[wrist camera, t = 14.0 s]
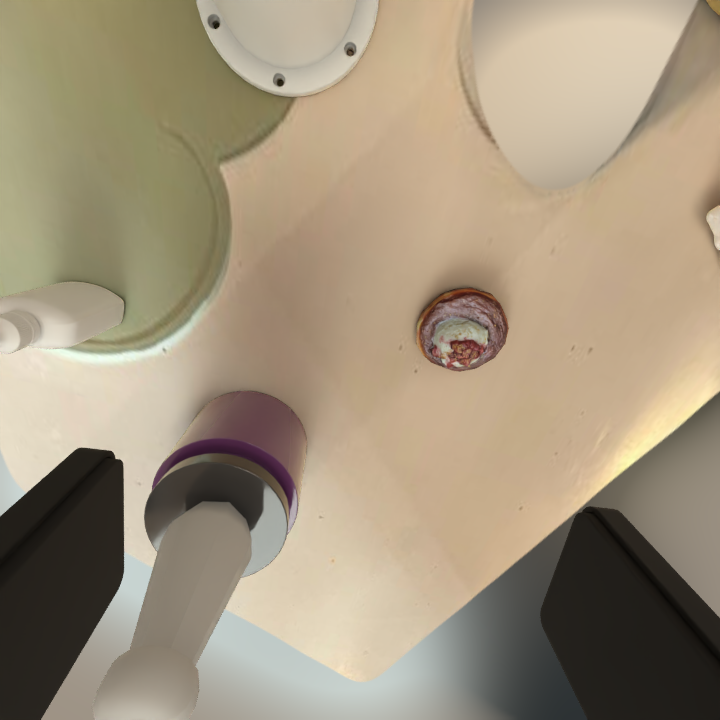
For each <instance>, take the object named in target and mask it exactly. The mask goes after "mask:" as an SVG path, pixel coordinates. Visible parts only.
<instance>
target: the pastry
mask: <svg viewBox="0 0 720 720" xmlns="http://www.w3.org/2000/svg"><path fill="white" fill-rule="evenodd" d="M508 329H509V328H508V322H507V318H506V316H505V314H504V311H503V309H502V307H501V305H500V303H499V302H498V301H497V300H496V299H495V298H494V297H493V295H492V294H490V293H487V292H484V291H480V290H477V289H474V288H462V289H454V290H451V291H448V292H446V293H443V294H441V295H440V296H439V297H437V298H436V299H435V300H434V301H433V302H432V303H431V304H430V305H429V306H428V307H427V308H425V309H424V310H423V312H422V314H421V316H420V318H419V320H418V323H417V337H416V344H417V345H418V347H419V349H420V350H421V352H422V354H423V355H424V356H425V357H426V358H427V359H428V360H429V361H430V362H432V363H434V364H437V365H439V366H442V367H445V368H447V369H450V370H453V371H464V370H470V369H475V368H477V367H479V366H481V365H483V364H484V363H486V362H488V361H490V360H491V359H493V358H495V356H496V355H497V354H498V352H499V351H500V350H501V348H502V347H503V345H504V344H505V342H506V337H507V333H508Z"/></svg>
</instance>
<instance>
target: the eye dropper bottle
mask: <svg viewBox="0 0 720 720" xmlns="http://www.w3.org/2000/svg"><path fill="white" fill-rule="evenodd" d="M123 314H124V301H123V300H122V299H121V298H120V297H119V296H117V295H116V294H114V293H113V292H111V291H109V290H107V289H105V288H103V287H100V286H97V285H94V284H90V283H85V282H62V283H57V284H53V285H49V286H45V287H40V288H36V289H32V290H28V291H24V292H20V293H16V294H12V295H8V296H5V297H2V298H0V353H1V354H9V353H13V352H16V351H18V350H20V349H23V348H25V347H27V346H29V347H34V348H42V349H60V348H67V347H71V346H75V345H77V344H79V343H82V342H84V341H86V340H88V339H90V338H92V337H94V336H96V335H98V334H100V333H103V332H105V331H107V330H109V329H111V328H113V327H115V326H117V325H119V324H120V323H121V322H122V320H123Z"/></svg>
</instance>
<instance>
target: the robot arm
mask: <svg viewBox="0 0 720 720" xmlns="http://www.w3.org/2000/svg"><path fill="white" fill-rule="evenodd" d="M196 3H197V7H198V10H199V14H200V17H201V21H202V23H203V25H204V28H205V30H206V32H207V34H208V36H209V38H210V41H211V42H212V44H213V45H214V47H215V48H216V50H217V51H218V53H219V54H220V55H221V57H222V58H223V59H224V61H225V62H226V63H227V64H228V65H229V67H230V68H231V69H232V70H233V71H235V72H236V73H237V74H238V75H239V76H240V77H241V78H243V79H244V80H245V81H247V82H248V83H250V84H252V85H253V86H255V87H257V88H258V89H260V90H263V91H266V92H269V93H272V94H274V95H280V96H287V97H299V96H309V95H312V94H315V93H319V92H322V91H324V90H326V89H328V88H330V87H331V86H333V85H335V84H337V83H338V82H339V81H340V80H342V79H343V78H344V77H345V76H346V75H347V74H348V73H350V72H351V70H352V69H353V68H354V67H355V65H356V64H357V63H358V61H359V60H360V59H361V57H362V55H363V53H364V51H365V50H366V48H367V46H368V44H369V42H370V39H371V36H372V33H373V29H374V26H375V23H376V17H377V12H378V3H379V0H196ZM216 23H219V24H220V26H219V27H218V28H217V29H214V25H215V24H216ZM348 50H352V51H353V52H354V54H353V55H352V56H348V55H347V51H348ZM279 80H283V81H284V84H283V86H278V85H277V82H278V81H279ZM123 573H124V479H123V462H122V461H121V460H118V459H115V455H114V453H113V452H112V451H107V450H99V449H90V448H78V449H76V450H75V451H74V452H73V453H71V454H70V455H69V456H68V457H67V458H66V459H65V460H64V461H62V462H61V463H60V464H59V465H58V466H57V467H56V468H55V469H53V470H52V471H51V472H50V473H49V474H48V475H47V476H45V477H44V478H43V479H42V480H41V481H40V482H39V483H38V484H36V485H35V486H34V487H33V488H32V489H31V490H30V491H28V492H27V493H26V494H25V495H24V496H23V497H22V498H21V499H19V500H18V501H17V502H16V503H15V504H14V505H13V506H12V507H10V508H9V509H8V510H7V511H6V512H5V513H4V514H3V515H2V516H0V720H41V718H42V717H43V715H44V713H45V712H46V710H47V708H48V707H49V705H50V703H51V702H52V700H53V698H54V696H55V695H56V693H57V691H58V690H59V688H60V686H61V685H62V683H63V681H64V679H65V678H66V676H67V675H68V673H69V671H70V670H71V668H72V666H73V665H74V663H75V661H76V660H77V658H78V656H79V655H80V653H81V651H82V649H83V648H84V646H85V644H86V643H87V641H88V639H89V638H90V636H91V634H92V633H93V631H94V629H95V628H96V626H97V624H98V623H99V621H100V619H101V618H102V616H103V614H104V613H105V611H106V609H107V608H108V606H109V604H110V602H111V601H112V599H113V597H114V596H115V594H116V592H117V590H118V589H119V587H120V584H121V581H122V578H123ZM540 616H541V623H542V627H543V629H544V631H545V633H546V635H547V637H548V639H549V642H550V643H551V646H552V648H553V650H554V652H555V654H556V656H557V658H558V660H559V662H560V664H561V666H562V668H563V670H564V672H565V674H566V676H567V678H568V681H569V683H570V685H571V687H572V689H573V691H574V693H575V695H576V697H577V699H578V701H579V703H580V705H581V707H582V709H583V711H584V713H585V715H586V717H587V719H588V720H720V618H719V617H718V616H717V615H716V614H715V612H714V611H713V610H712V609H711V608H710V607H709V606H708V605H707V604H706V603H705V602H704V601H703V600H702V599H701V598H700V596H699V595H698V594H696V592H695V591H694V590H693V589H692V588H691V587H690V586H689V585H688V584H687V583H686V582H685V580H684V579H682V577H681V576H680V575H679V574H678V573H677V572H676V571H675V570H674V569H673V568H672V567H671V566H670V564H669V563H667V561H666V560H665V559H664V558H663V557H662V556H661V555H660V554H659V553H658V552H657V551H656V550H655V549H654V547H653V546H652V545H651V544H650V543H649V542H648V541H647V540H646V539H645V538H644V537H643V536H642V535H641V534H640V533H639V531H637V529H635V527H634V526H633V525H632V524H631V523H630V522H629V521H628V520H627V519H626V518H625V517H624V515H623V514H622V513H620V512H619V511H618V510H615V509H608V508H599V507H586V508H585V509H584V510H583V511H582V512H581V513H578V514H577V515H576V516H575V518H574V521H573V523H572V526H571V529H570V532H569V534H568V537H567V540H566V542H565V545H564V548H563V551H562V553H561V556H560V559H559V562H558V564H557V567H556V570H555V572H554V575H553V578H552V580H551V583H550V586H549V588H548V591H547V594H546V597H545V599H544V602H543V605H542V608H541V615H540Z"/></svg>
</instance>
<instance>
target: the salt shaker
mask: <svg viewBox="0 0 720 720" xmlns="http://www.w3.org/2000/svg"><path fill="white" fill-rule="evenodd" d="M251 553H252V549H251V534H250V531H249V528H248V524H247V521H246V519H245V518H244V517H243V516H242V515H241V514H240V513H239V512H238V511H237V510H236V509H235V508H234V507H233V506H232V504H231V503H230V502H205V501H203V502H201V503H199V504H198V505H196V506H195V507H193V508H192V509H190V510H188V511H187V512H185V513H184V514H182V515H181V516H179V517H178V518H177V519H175V520H174V521H173V522H172V523H171V524H170V525H169V527H168V529H167V530H166V532H165V534H164V536H163V538H162V540H161V542H160V546H159V549H158V553H157V556H156V560H155V563H154V567H153V571H152V574H151V578H150V581H149V584H148V588H147V592H146V595H145V598H144V602H143V605H142V609H141V612H140V615H139V619H138V622H137V626H136V629H135V633H134V636H133V640H132V643H131V647H130V650H129V651H127V652H125V653H124V654H122V655H121V656H119V657H118V658H117V659H116V660H115V661H114V662H113V663H112V665H111V667H110V669H109V670H108V672H107V674H106V675H105V677H104V679H103V681H102V683H101V685H100V687H99V688H98V690H97V693H96V696H95V699H94V702H93V705H92V710H93V715H94V720H189V719H190V717H191V714H192V712H193V710H194V708H195V705H196V702H197V698H198V693H199V678H198V670H197V668H196V667H195V666H196V663H197V662H198V660H199V658H200V656H201V654H202V652H203V650H204V648H205V646H206V644H207V642H208V640H209V638H210V636H211V634H212V632H213V630H214V628H215V627H216V624H217V623H218V621H219V619H220V617H221V615H222V613H223V611H224V609H225V607H226V605H227V603H228V601H229V599H230V597H231V595H232V593H233V592H234V590H235V588H236V586H237V584H238V582H239V580H240V578H241V576H242V575H243V573H244V571H245V569H246V567H247V565H248V564H249V562H250V560H251Z"/></svg>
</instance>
